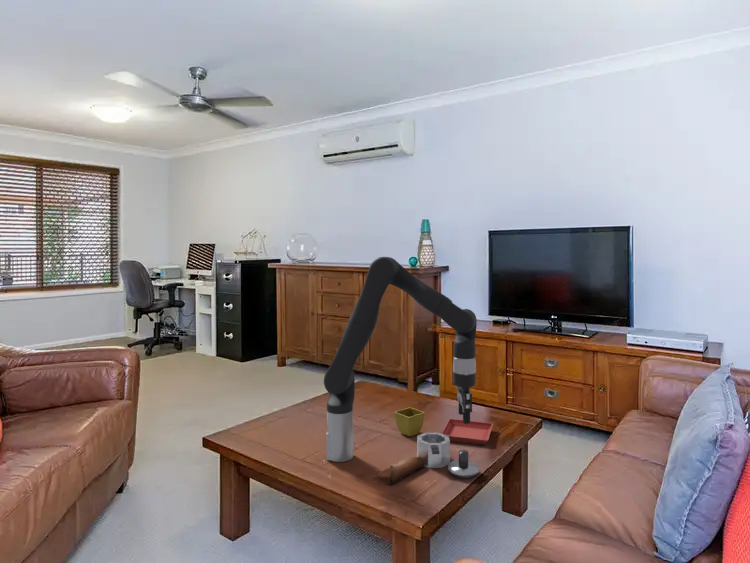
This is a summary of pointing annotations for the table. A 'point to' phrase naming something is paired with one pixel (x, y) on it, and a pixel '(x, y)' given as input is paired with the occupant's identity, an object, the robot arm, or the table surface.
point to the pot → (434, 449)
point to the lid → (463, 466)
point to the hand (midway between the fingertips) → (464, 418)
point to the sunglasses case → (400, 470)
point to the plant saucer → (467, 431)
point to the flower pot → (409, 421)
